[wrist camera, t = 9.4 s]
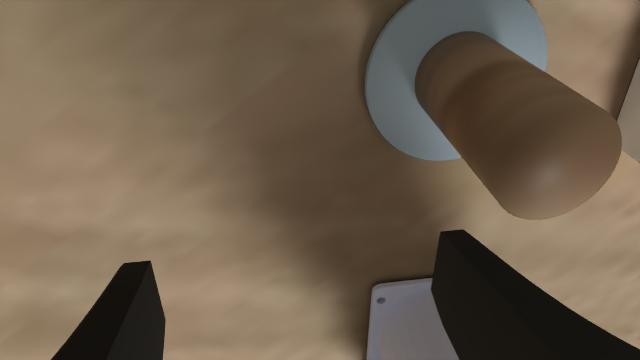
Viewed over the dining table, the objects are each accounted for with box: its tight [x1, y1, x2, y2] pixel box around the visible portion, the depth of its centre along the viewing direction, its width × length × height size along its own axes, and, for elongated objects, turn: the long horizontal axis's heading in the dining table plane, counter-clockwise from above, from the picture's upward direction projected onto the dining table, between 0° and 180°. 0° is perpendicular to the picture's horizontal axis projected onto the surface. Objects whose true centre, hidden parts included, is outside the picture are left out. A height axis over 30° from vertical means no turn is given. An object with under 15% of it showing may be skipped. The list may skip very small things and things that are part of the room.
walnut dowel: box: [414, 31, 622, 220], centre depth 18 cm, size 4×4×8 cm
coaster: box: [364, 0, 547, 161], centre depth 21 cm, size 8×8×1 cm
